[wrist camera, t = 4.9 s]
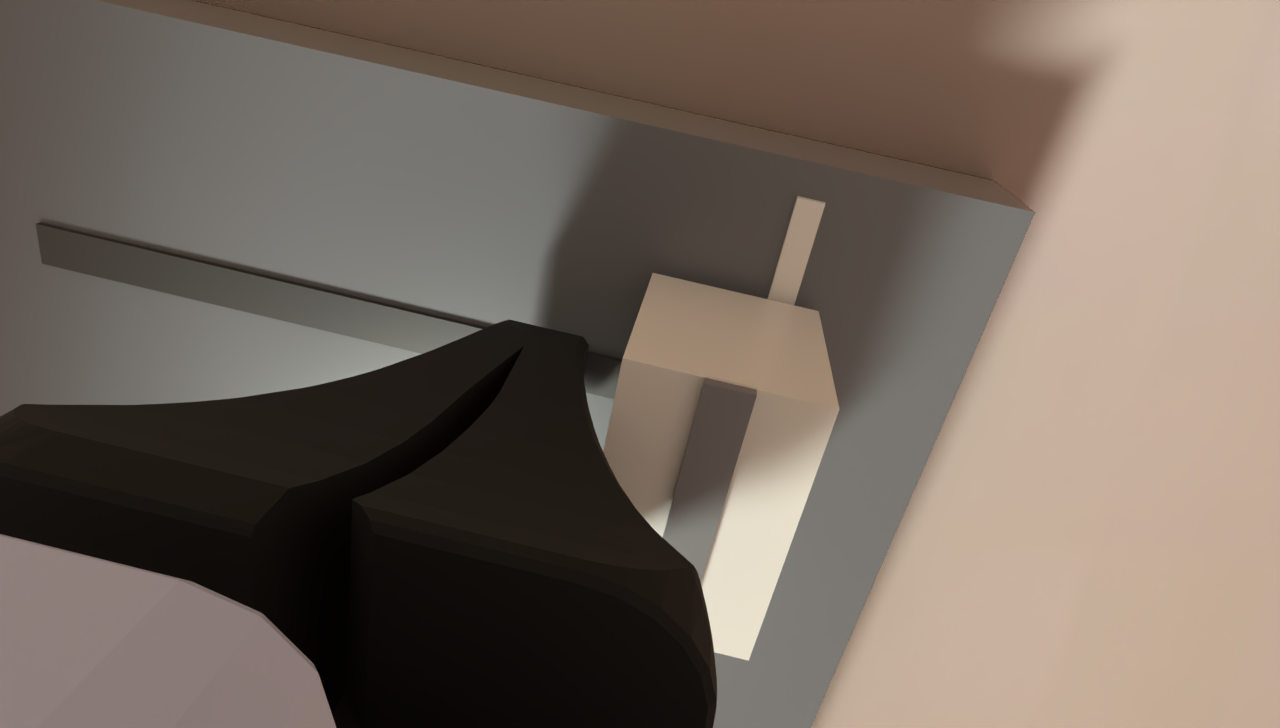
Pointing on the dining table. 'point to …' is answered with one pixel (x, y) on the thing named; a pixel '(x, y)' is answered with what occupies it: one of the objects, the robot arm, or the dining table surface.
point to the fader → (723, 437)
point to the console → (466, 251)
